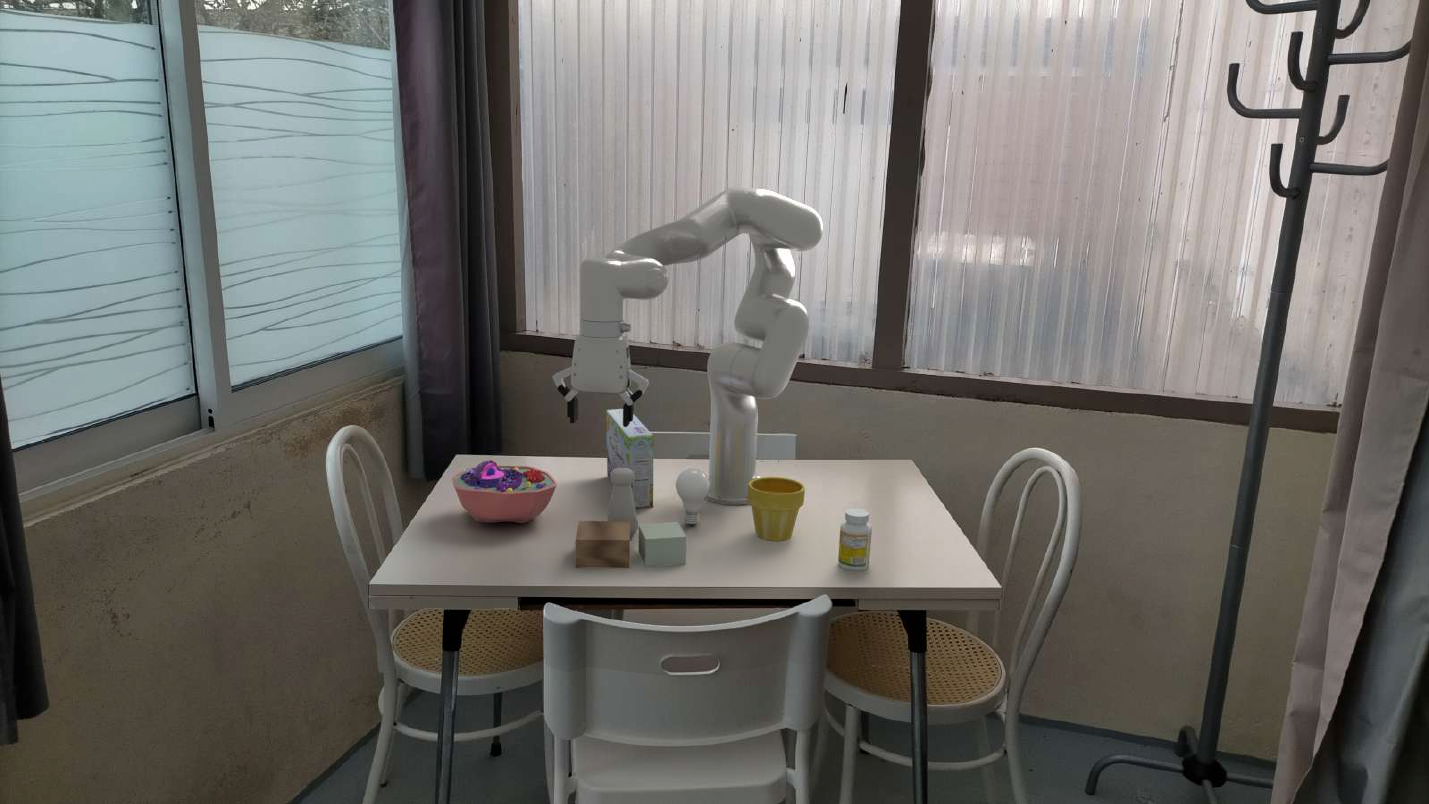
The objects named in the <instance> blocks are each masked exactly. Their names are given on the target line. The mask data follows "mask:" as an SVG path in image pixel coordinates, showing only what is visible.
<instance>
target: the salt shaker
mask: <svg viewBox="0 0 1429 804" xmlns="http://www.w3.org/2000/svg"><path fill="white" fill-rule="evenodd" d="M610 480H611V481H610ZM609 481H610V483H611V484H612V483H613V484H612V490H611V496H610V501H609V507H608V512H607V516H606V521H630V542H632V541H633V540H632V539H633V538H634V536H635V535H636V533H637V531H638V530H639V523H638V517H637V512H636V509H635V505H634V499H633V493H632V488H631V484H632V483H633V482H634V472H633V471H632V470H631V469H628V468H617V469H614V470H612V471H611V474H610V479H609Z"/></svg>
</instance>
